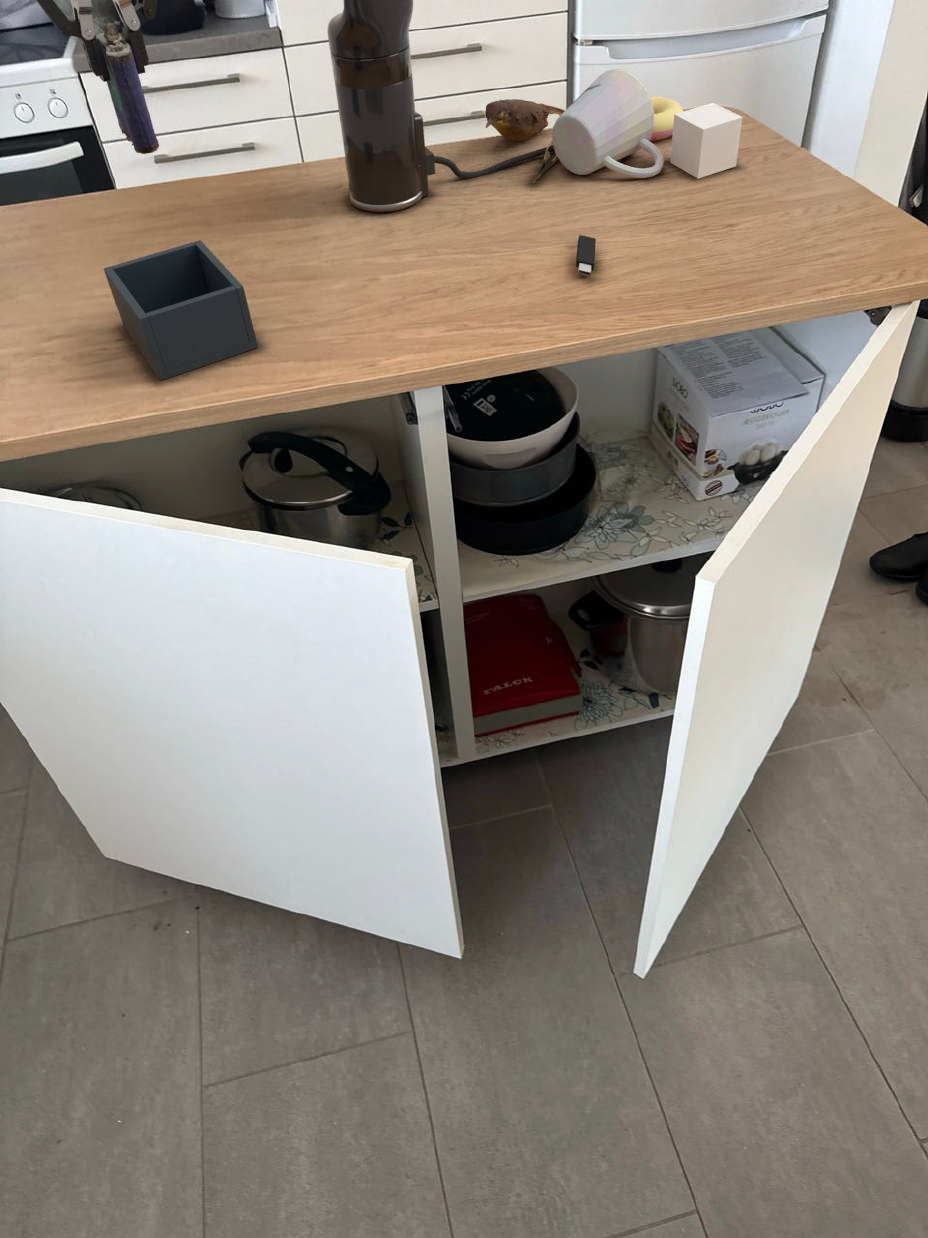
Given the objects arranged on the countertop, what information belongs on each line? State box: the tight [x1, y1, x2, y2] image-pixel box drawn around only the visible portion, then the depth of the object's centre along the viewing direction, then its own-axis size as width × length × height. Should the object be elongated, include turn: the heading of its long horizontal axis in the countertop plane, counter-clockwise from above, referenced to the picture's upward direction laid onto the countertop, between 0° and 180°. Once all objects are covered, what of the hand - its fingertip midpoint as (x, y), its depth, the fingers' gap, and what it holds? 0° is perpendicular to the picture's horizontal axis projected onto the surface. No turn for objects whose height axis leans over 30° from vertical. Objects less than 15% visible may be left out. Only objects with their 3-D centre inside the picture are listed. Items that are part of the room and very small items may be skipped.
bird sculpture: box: [484, 98, 566, 142], centre depth 131 cm, size 7×25×5 cm, turn 150°
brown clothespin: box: [532, 139, 559, 184], centre depth 125 cm, size 12×3×1 cm, turn 157°
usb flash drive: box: [575, 234, 597, 277], centre depth 106 cm, size 8×2×1 cm, turn 173°
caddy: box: [103, 239, 259, 381], centre depth 97 cm, size 11×13×7 cm
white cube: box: [669, 102, 744, 179], centre depth 120 cm, size 6×6×6 cm
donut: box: [649, 96, 685, 142], centre depth 130 cm, size 10×5×9 cm
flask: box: [95, 20, 160, 155], centre depth 95 cm, size 9×3×11 cm, turn 26°
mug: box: [551, 68, 665, 179], centre depth 121 cm, size 10×15×10 cm
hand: (122, 74), depth 94 cm, fingers closed on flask, 3 cm apart
